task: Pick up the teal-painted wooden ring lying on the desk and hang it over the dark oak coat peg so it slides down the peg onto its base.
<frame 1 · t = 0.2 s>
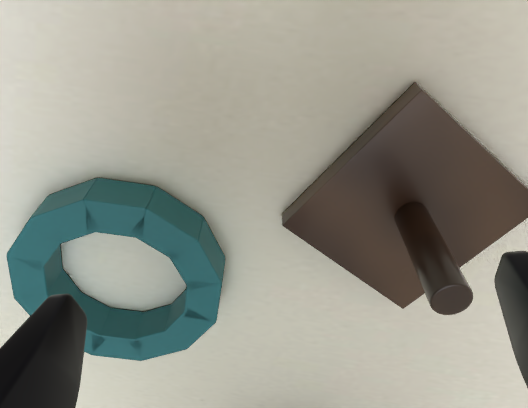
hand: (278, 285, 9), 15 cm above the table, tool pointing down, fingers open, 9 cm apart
ring: (127, 263, 28), on the table
stand: (405, 204, 26), on the table
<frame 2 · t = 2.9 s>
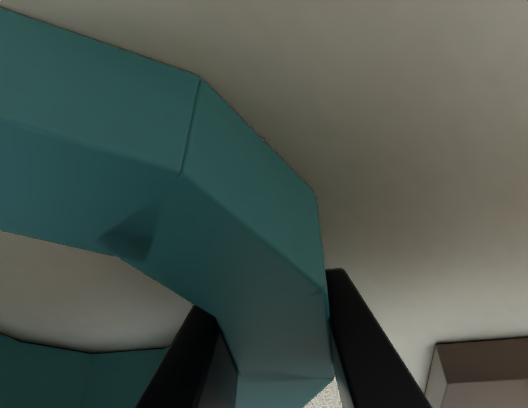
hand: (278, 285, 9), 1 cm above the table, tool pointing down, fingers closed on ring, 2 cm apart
ring: (67, 268, 11), on the table, touching gripper
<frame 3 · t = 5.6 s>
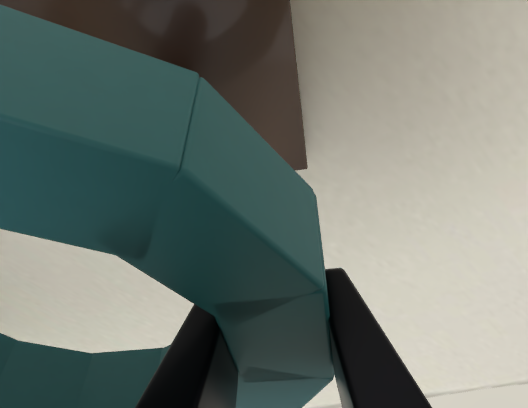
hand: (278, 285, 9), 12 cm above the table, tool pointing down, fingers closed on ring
ring: (66, 267, 11), point 11 cm above the table, touching gripper
stand: (175, 72, 19), on the table
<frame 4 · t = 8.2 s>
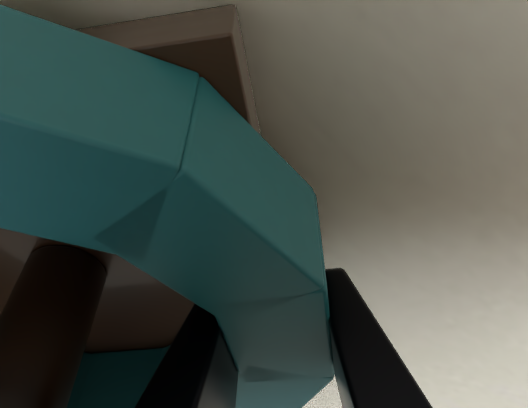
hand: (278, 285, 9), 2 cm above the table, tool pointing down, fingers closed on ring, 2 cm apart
ring: (66, 267, 11), point 1 cm above the table, touching gripper
stand: (82, 231, 12), on the table
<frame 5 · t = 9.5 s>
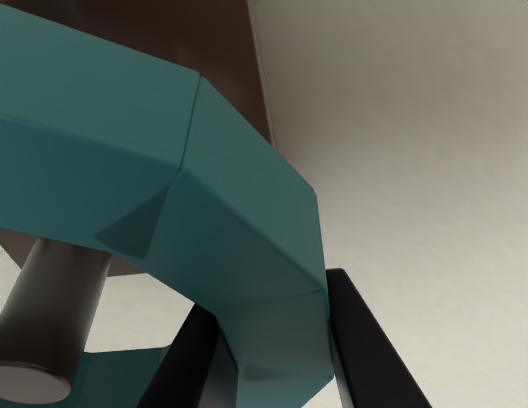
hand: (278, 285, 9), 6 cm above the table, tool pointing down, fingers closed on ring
ring: (66, 266, 11), point 5 cm above the table, touching gripper
stand: (115, 145, 14), on the table
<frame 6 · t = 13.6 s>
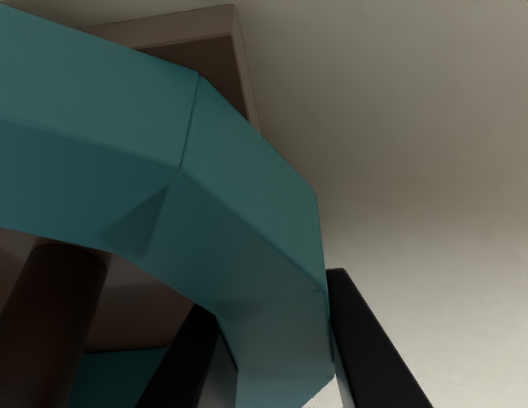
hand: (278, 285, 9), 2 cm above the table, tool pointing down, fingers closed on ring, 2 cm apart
ring: (66, 266, 11), point 1 cm above the table, touching gripper
stand: (82, 231, 12), on the table
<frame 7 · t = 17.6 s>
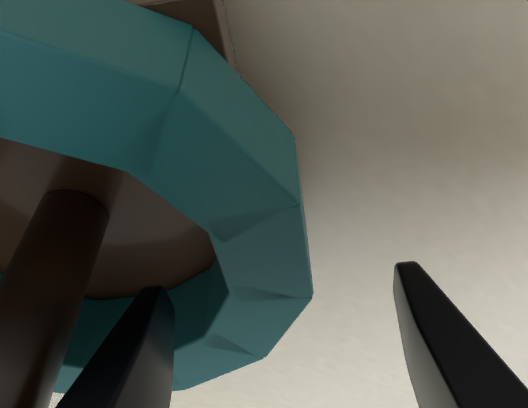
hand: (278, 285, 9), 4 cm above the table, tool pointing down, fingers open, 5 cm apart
ring: (78, 211, 12), point 1 cm above the table, touching stand
stand: (86, 184, 13), on the table
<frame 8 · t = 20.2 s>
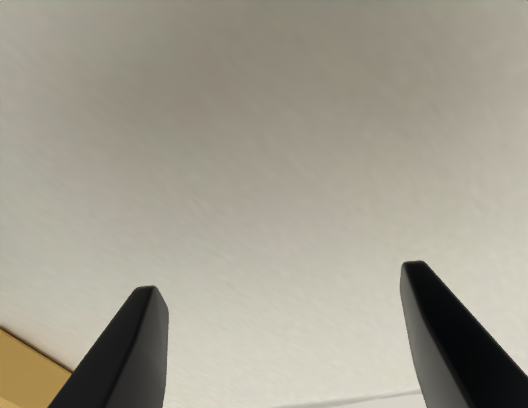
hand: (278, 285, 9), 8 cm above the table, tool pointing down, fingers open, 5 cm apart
rubber stamp: (25, 367, 30), on the table
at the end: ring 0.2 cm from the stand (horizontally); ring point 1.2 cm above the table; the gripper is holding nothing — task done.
